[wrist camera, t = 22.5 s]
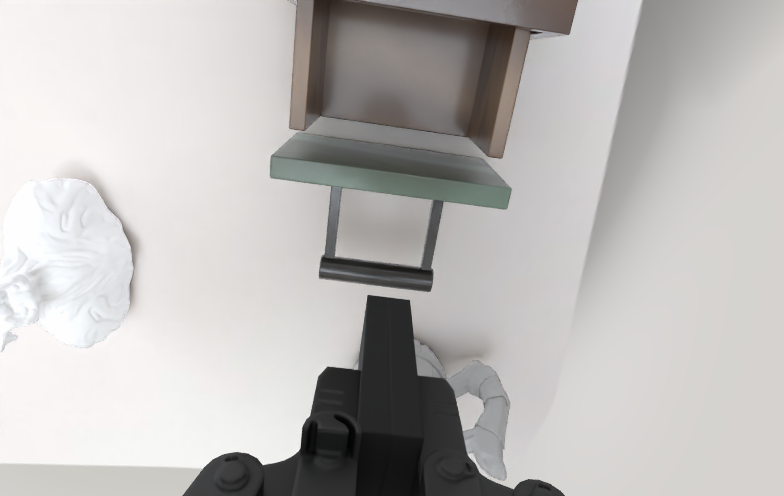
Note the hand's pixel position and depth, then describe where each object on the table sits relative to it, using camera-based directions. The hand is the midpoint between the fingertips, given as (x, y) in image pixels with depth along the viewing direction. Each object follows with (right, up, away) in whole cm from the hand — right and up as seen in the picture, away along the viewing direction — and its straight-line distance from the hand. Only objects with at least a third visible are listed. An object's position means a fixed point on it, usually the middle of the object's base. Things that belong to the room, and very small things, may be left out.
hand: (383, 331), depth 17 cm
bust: (-22, +3, +18) cm, 29 cm away
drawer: (+1, +12, +14) cm, 19 cm away
